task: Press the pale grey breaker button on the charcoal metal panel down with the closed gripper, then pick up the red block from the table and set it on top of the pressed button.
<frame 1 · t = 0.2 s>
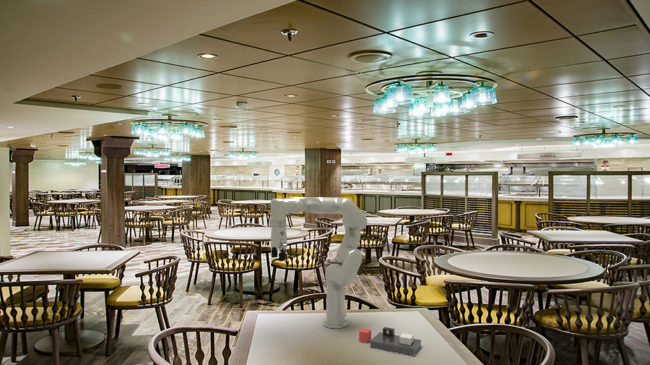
hand: (278, 259, 206), 37 cm above the table, tool pointing down, fingers open, 9 cm apart
breaker button: (406, 339, 191), point 5 cm above the table, slide at 0.0 cm
red block: (365, 340, 200), on the table
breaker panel: (395, 346, 193), on the table
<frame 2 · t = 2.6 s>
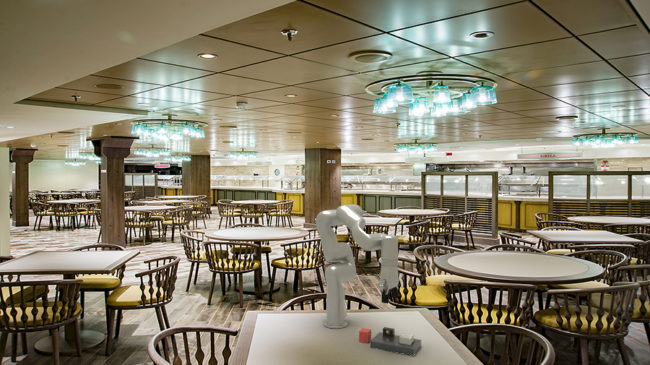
hand: (390, 300, 192), 21 cm above the table, tool pointing down, fingers open, 9 cm apart
nothing on the table moved.
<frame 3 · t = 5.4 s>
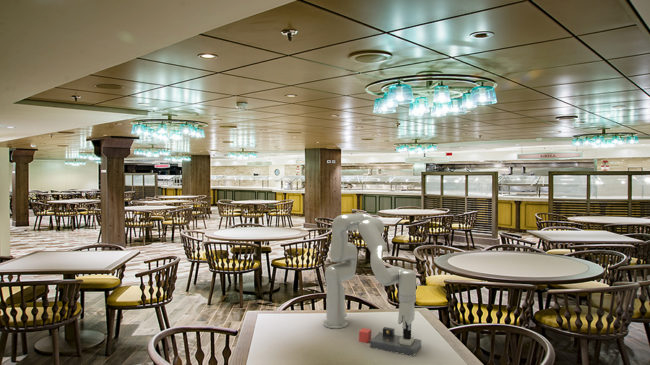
hand: (407, 338, 191), 5 cm above the table, tool pointing down, fingers closed
breaker button: (406, 341, 191), point 3 cm above the table, slide at 1.1 cm, touching gripper
everything else where it was.
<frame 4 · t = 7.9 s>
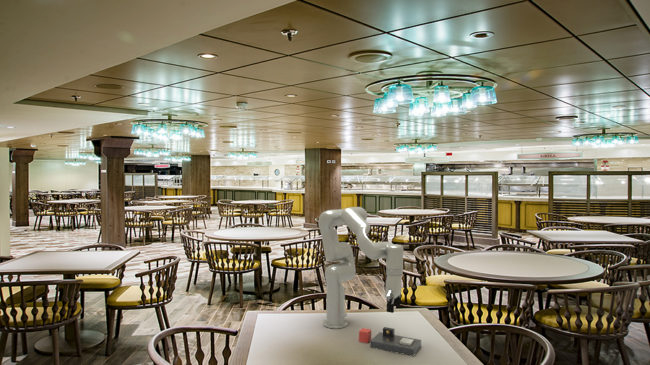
hand: (393, 309, 194), 17 cm above the table, tool pointing down, fingers open, 9 cm apart
breaker button: (406, 343, 191), point 2 cm above the table, slide at 2.2 cm
everything else where it was.
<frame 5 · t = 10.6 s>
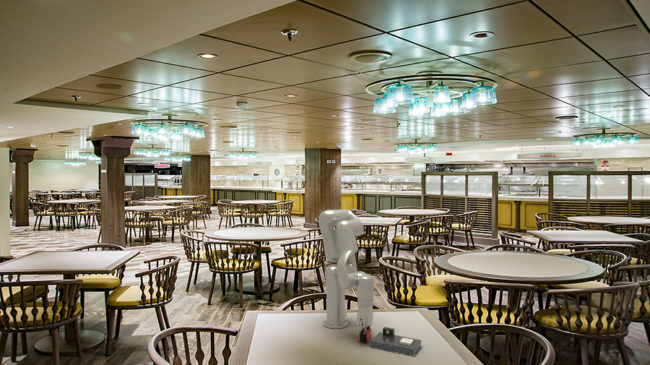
hand: (365, 339, 200), 0 cm above the table, tool pointing down, fingers closed on red block, 4 cm apart
red block: (365, 340, 200), on the table, touching gripper
everything else where it was.
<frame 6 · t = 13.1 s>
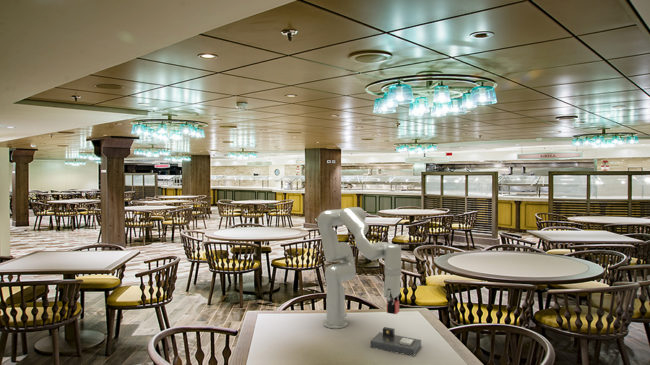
hand: (393, 311, 194), 16 cm above the table, tool pointing down, fingers closed on red block, 4 cm apart
red block: (393, 312, 194), point 16 cm above the table, touching gripper
everything else where it was.
when the fingers open (6 cm above the table, at t = 15.7 s): red block drops 2 cm, point 4 cm above the table.
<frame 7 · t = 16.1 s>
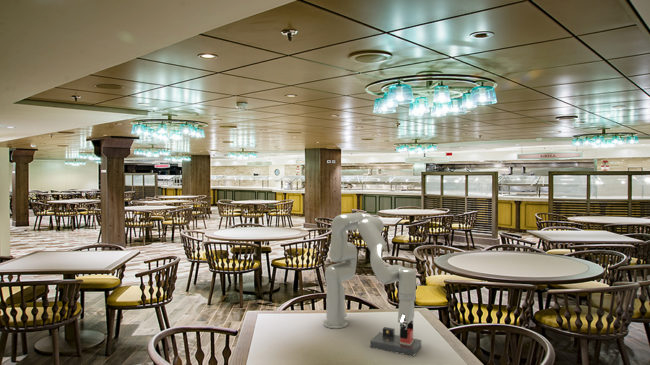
hand: (406, 334, 191), 7 cm above the table, tool pointing down, fingers open, 8 cm apart
red block: (406, 341, 191), point 4 cm above the table
everything else where it was.
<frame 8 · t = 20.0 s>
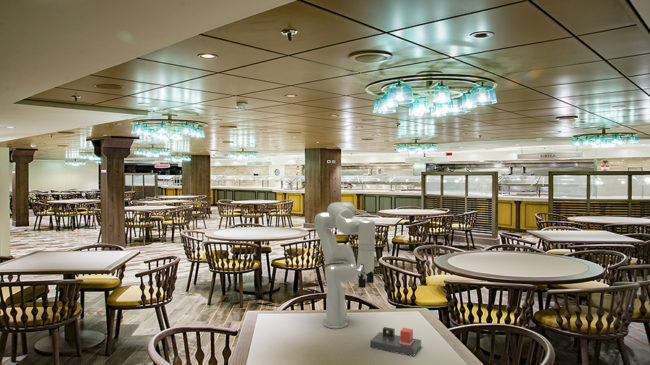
hand: (366, 285, 192), 28 cm above the table, tool pointing down, fingers open, 9 cm apart
breaker button: (406, 344, 191), point 2 cm above the table, slide at 2.5 cm, touching red block
red block: (406, 341, 191), point 4 cm above the table, touching breaker button
at the end: breaker button slide at 2.5 cm; red block 0.1 cm from the breaker button (horizontally); red block touching breaker button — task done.
